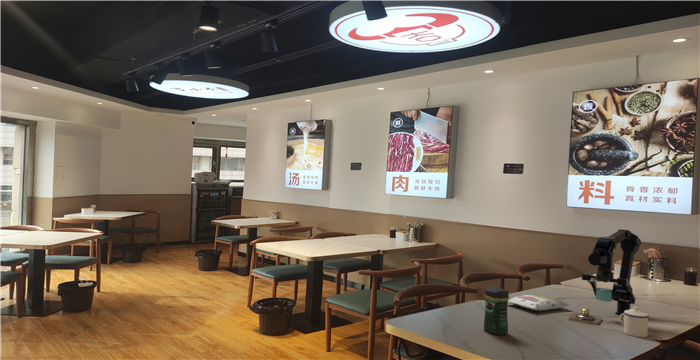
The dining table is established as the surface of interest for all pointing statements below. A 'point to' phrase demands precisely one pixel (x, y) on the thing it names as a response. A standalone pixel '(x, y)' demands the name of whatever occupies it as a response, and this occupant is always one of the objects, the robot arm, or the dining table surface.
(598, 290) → the cap
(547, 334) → the dining table surface
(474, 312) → the dining table surface
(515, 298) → the frozen beans
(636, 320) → the teacup with lid
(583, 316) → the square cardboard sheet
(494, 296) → the coffee jar
